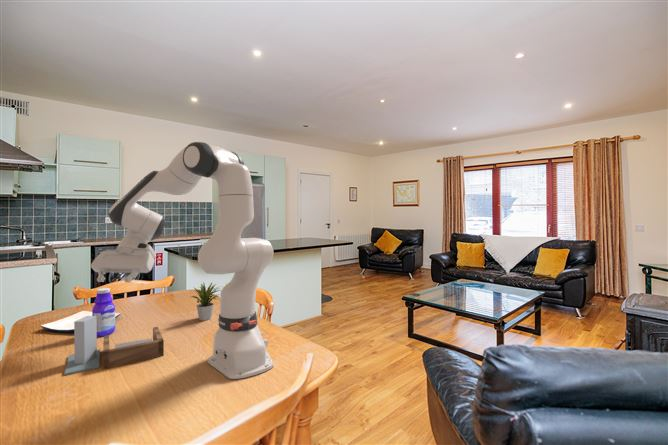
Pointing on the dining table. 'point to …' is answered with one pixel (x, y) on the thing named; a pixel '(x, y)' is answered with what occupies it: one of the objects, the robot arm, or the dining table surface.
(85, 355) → the grey rectangular block
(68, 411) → the dining table surface
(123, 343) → the offcut stack
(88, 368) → the slate mat
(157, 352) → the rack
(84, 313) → the plate
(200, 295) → the house plant
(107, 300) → the bottle
